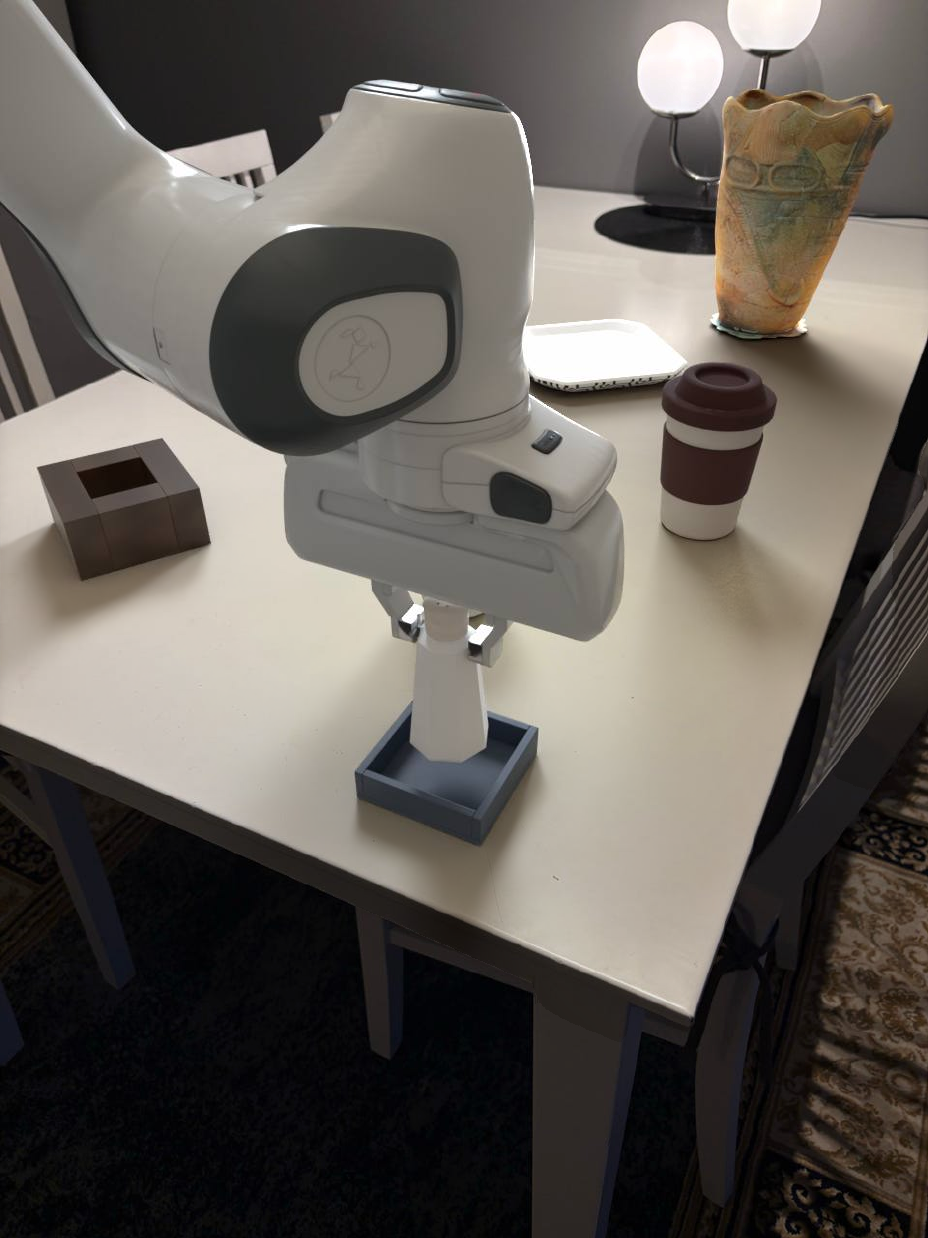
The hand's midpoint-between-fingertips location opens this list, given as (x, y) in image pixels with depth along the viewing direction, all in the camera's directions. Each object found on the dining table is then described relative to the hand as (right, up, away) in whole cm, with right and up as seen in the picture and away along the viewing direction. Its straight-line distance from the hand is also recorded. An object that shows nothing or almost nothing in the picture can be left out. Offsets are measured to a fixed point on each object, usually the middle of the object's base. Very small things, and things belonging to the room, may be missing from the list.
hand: (447, 647), depth 56 cm
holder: (-31, +10, +32) cm, 46 cm away
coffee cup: (+24, +11, +33) cm, 43 cm away
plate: (+18, +36, +66) cm, 77 cm away
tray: (0, -9, +7) cm, 11 cm away
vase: (+45, +45, +78) cm, 101 cm away
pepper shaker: (0, -6, +5) cm, 8 cm away
